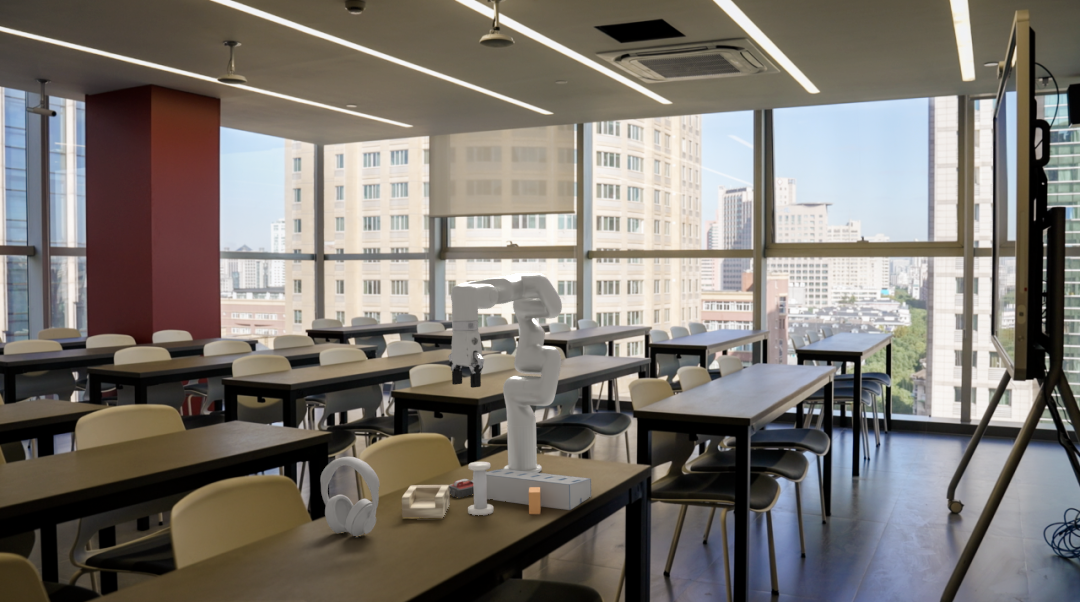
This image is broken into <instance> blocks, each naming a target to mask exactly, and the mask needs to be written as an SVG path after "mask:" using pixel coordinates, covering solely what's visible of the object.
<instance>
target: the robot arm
mask: <svg viewBox="0 0 1080 602" xmlns="http://www.w3.org/2000/svg"><path fill="white" fill-rule="evenodd" d="M450 300H451V318H452V319H451V323H452V325H451V326H452V334H451V335H452V337H451V352H450V354H448V357H447V358H448V361H449V365H450V371H451V378H452V380H451V383H452V385H461V384H463V370H461V369H462V368H463V367H466V368H467V367H469V370H470V372H471V373H470V375H469V377H470V378H469V380H470V381H469V382H470V383H469V384H470V388H472V389H473V388H480V387H481V386H482V382H481V381H482V380H481V379H482V377H481V374H482V372H483V368H484V363H485V358H484V357H483V349H482V340H481V335H480V331H479V310H488V309H492V308H494V307H495V306H496V305H502V304H503V305H504V304H507V303H511V302H512V307H513V308H512V309H513V312H514V314H515V317H516V320H517V323H518V326H519V337H518V343H517V346H516V347H517V348H516V351H515V357H514V362H513V365H514V369H515V370H516V371H517V373H520V374H524V375H513V376H510V377H508V378H506V380H505V381H504V383H503V388H502V393H503V396H504V404H505V407H506V408H505V409H506V426H507V427H506V429H507V465H505V466H503V469H509V470H518V471H527V472H536V473H541V472H542V471H543V470H542V465H540V463H539V464H538V461H537V460H538V458H537V456H538V455H537V424H536V423H537V419H536V418H537V417H536V415H535V412H534V410H533V408H532V407H531V406H537V407H547V406H550V405H551V404H552V403H554V401H555V398H556V397H555V396H556V393H557V389H558V383H559V379H560V373H561V367H562V357H561V352H560V351H559V349H558V348H557V347H555V346H549V345H544V343H545V337H546V335H545V332H544V331H545V330H544V329H543V327H542V325H541V324H540V323H539V321H538V320H537V319H555V318H557V317H559V316H560V314H561V312H562V310H563V308H562V307H563V305H562V304H563V303H562V300H561V297H560V295H559V294H558V292H557V291H556V289H555V287H554V285H553V284H552V283H551V281H550V280H549V279H548V277H547V276H545V275H544V274H543V273H540V272H527V273H526V272H525V273H524V272H519V273H513V274H509V275H504V276H498V277H492V278H485V279H481V280H479V279H478V280H473V281H468V282H462V283H459V284H456V285H453V287H452V288H451V294H450ZM525 374H526V375H525ZM533 375H535V376H533ZM536 375H541V376H536Z"/></svg>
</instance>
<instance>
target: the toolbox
mask: <svg viewBox="0 0 1080 602" xmlns="http://www.w3.org/2000/svg"><path fill="white" fill-rule="evenodd" d="M448 485H449V494H451V495H452V498H457V497H458V498H457V499H461V498H460V497H462V498H465V497H464V496H466V497H469V496H468V495H471V496H473V495H472V494H474V486H473V477H472V479H471V480H470V479H467V478H462V479H457V480H455V481H454V482H453V483H451V484H448ZM451 495H450V496H451ZM455 496H456V497H455Z"/></svg>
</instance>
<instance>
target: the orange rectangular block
mask: <svg viewBox="0 0 1080 602" xmlns="http://www.w3.org/2000/svg"><path fill="white" fill-rule="evenodd" d="M541 510H542V506H541V496H540V487H529V505H528V514H529V515H541Z"/></svg>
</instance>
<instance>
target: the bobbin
mask: <svg viewBox="0 0 1080 602" xmlns="http://www.w3.org/2000/svg"><path fill="white" fill-rule="evenodd" d="M489 469H491V463H490V462H488V461H474V462H470V463H469V464H468V470H470V471H472V478H473V479H472V480H473V486H474V495H473V504H471V505H469V506H468V507H467V513H468V515H470V514H472V515H471V516H475V515H478V517H479V515H483V516H488V514H489V515H491V514H493V513H494V506H493V504H490V503H488V499H487V481H486V472H487V470H489Z"/></svg>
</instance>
